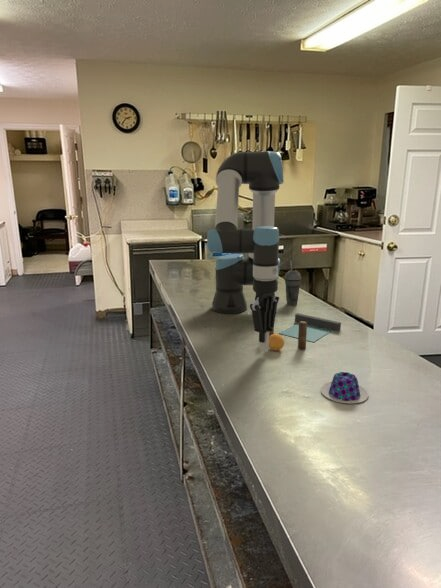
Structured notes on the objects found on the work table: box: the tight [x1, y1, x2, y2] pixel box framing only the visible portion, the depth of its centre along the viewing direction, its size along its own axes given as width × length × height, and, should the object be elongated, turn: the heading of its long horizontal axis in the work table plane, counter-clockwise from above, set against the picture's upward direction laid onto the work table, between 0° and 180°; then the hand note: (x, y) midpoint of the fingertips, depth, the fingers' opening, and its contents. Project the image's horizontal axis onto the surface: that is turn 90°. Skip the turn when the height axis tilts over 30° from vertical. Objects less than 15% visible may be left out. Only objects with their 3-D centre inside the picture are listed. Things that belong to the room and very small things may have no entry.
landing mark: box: [278, 322, 332, 343], centre depth 157 cm, size 14×14×1 cm
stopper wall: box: [294, 313, 342, 333], centre depth 164 cm, size 18×2×3 cm, turn 51°
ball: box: [269, 333, 285, 352], centre depth 141 cm, size 6×6×6 cm
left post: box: [269, 326, 275, 336], centre depth 150 cm, size 3×3×9 cm
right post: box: [297, 321, 307, 351], centre depth 142 cm, size 3×3×9 cm
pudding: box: [320, 371, 369, 404], centre depth 113 cm, size 12×12×5 cm
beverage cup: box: [284, 259, 302, 307], centre depth 189 cm, size 7×7×20 cm
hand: (263, 350), depth 137 cm, fingers closed
